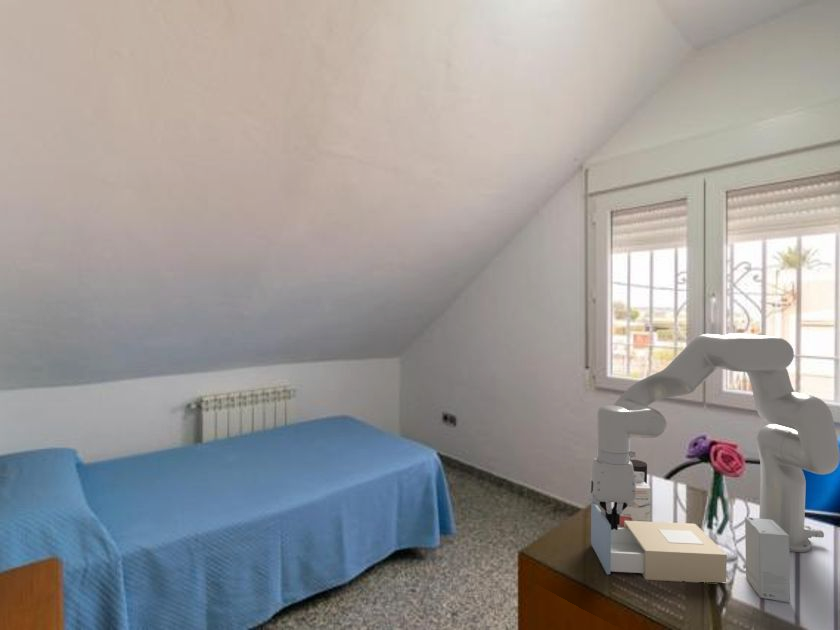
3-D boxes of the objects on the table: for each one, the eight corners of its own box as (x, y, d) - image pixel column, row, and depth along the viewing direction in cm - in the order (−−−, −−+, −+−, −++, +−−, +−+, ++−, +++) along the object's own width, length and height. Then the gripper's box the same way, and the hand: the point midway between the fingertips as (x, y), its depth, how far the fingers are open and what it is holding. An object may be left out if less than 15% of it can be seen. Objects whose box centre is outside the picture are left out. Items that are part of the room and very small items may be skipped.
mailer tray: (659, 546, 116) (659, 502, 116) (684, 578, 103) (685, 528, 103) (590, 543, 118) (591, 499, 117) (606, 574, 105) (607, 525, 104)
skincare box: (790, 604, 95) (792, 537, 95) (758, 598, 97) (759, 532, 96) (772, 580, 103) (774, 518, 103) (742, 575, 105) (744, 514, 104)
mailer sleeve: (694, 549, 116) (694, 523, 115) (726, 583, 102) (726, 554, 102) (623, 546, 118) (624, 520, 117) (645, 579, 104) (645, 550, 103)
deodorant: (650, 514, 134) (650, 466, 134) (630, 514, 134) (631, 466, 134) (640, 505, 140) (641, 459, 140) (621, 505, 140) (622, 459, 140)
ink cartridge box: (620, 526, 128) (620, 476, 127) (614, 517, 133) (615, 470, 132) (650, 527, 127) (651, 477, 126) (643, 519, 132) (644, 471, 131)
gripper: (638, 451, 113) (637, 520, 114) (578, 449, 114) (578, 518, 115) (650, 462, 106) (649, 536, 106) (586, 460, 107) (586, 533, 108)
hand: (612, 526), depth 111 cm, fingers closed
